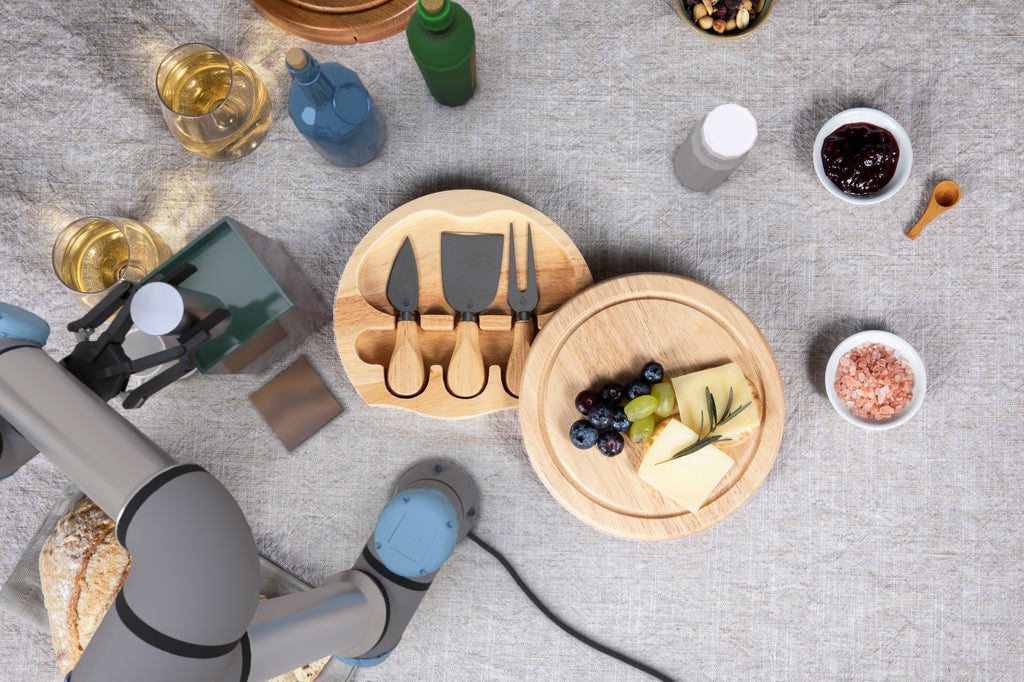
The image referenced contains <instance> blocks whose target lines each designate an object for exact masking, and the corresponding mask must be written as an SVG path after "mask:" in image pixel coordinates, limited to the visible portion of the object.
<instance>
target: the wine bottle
mask: <svg viewBox="0 0 1024 682" xmlns="http://www.w3.org/2000/svg"><path fill="white" fill-rule="evenodd" d="M284 58H285V59H284V61H285V67H286V69H287V71H288V72H289V76H290V77H291V79H292V80H293V81H292V83H291V85H290V87H289V89H288V90H287V113H288V115H289V117H290V119H291V121H292V123H293V124H294V125H295V127H296V129H297V130H298V132H299V134H300V135H301V136H302V137H303V138H304V139H305V140H306V141H307V142H308V143H309V144H310V145H311V147H312V148H313V149H314V150H315V151H316V152H317V153H318V154H319V155H320V156H321V157H322V158H323V159H325V160H326V161H327V162H328V161H329V162H330V163H332V164H333V165H335V166H337V167H339V168H358V167H359V168H360V167H361V166H363V165H365V164H366V163H368V162H369V161H372V160H373V159H374V158H376V157H377V155H378V154H379V152H380V150H381V148H382V146H383V145H384V143H385V141H386V122H385V119H384V117H383V116H382V113H381V112H380V110H379V108H378V107H377V104H376V103H375V101H374V99H373V97H372V95H371V94H370V92H369V90H368V88H367V87H366V84H364V82H363V80H362V79H361V77H360V75H359V74H358V73H357V71H355V70H353V69H352V68H349V67H347V66H346V65H344V64H341V63H339V62H338V61H330V62H327V61H325V62H323V61H322V62H319V61H318V60H317V59H316V58H315V57H314V56H313V55H312V54H311V53H310V52H309V51H307V50H306V49H304V48H302V47H290V48H289V49H288V50H287V51H286V52H285V57H284Z"/></svg>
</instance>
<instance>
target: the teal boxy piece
mask: <svg viewBox="0 0 1024 682" xmlns="http://www.w3.org/2000/svg"><path fill="white" fill-rule="evenodd" d="M184 262H186V263H189V264H192V265H195V266H196V267H197V269H198V271H197V272H195V273H194V274H193V275H191V276H190V277H189V278H187V279H186V280H185V281H183V282H182V283H181V284H179V285H178V286H180V287H184V288H188V289H192V290H196V291H200V292H204V293H208V294H212V295H214V296H216V297H218V298H219V299H220V300H221V301H222V302H223V303H224V305H225V307H226V310H228V311H229V312H230V314H231V315H230V316H228V317H227V323H226V326H225V328H224V330H223V331H222V332H221V333H220V334H219V335H218V336H217V337H215V338H213V339H210V340H208V341H207V342H206V343H204V344H203V345H202V346H200V347H199V348H198V349H196V353H195V355H193V358H194V361H196V363H197V367H196V368H197V370H198V372H199V373H200V374H201V376H207V375H208V376H209V375H210V376H211V375H212V376H213V375H214V376H216V375H217V376H219V375H220V376H221V375H223V376H224V375H226V376H227V375H232V376H233V375H259V374H260V373H262V372H264V370H265V369H267V368H268V367H269V366H271V365H272V364H273V363H275V362H276V361H278V360H279V359H280V358H282V357H283V356H285V354H287V353H289V351H291V350H292V349H293V348H294V347H296V346H297V345H298V344H300V343H301V342H303V341H304V340H305V339H306V338H308V337H310V336H311V334H313V333H314V332H315V331H317V330H319V329H320V328H321V327H322V326H323V325H325V324H327V323H328V322H329V321H330V320H332V319H333V318H334V315H333V314H332V313H331V311H330V310H329V308H328V307H327V305H326V304H325V303H324V302H323V300H322V299H321V297H320V296H319V295H318V294H317V292H316V291H315V290H314V288H313V287H312V286H311V285H310V283H309V281H307V279H306V278H305V276H304V275H303V273H301V271H300V270H299V268H298V267H297V266H296V264H295V263H294V262H293V260H291V258H290V257H289V255H288V254H287V252H286V251H285V250H284V249H283V247H282V246H281V244H280V243H279V241H276V240H274V239H273V238H270V237H268V236H266V235H264V234H263V233H261V232H259V231H257V230H256V229H254V228H251V227H249V226H248V225H245V224H244V223H242V222H240V221H238V220H237V219H234V218H233V217H231V216H229V215H224V216H223V217H222V218H220V219H219V220H218V221H216V222H215V223H214V224H213V225H211V226H210V227H209V228H207V229H206V230H204V231H203V232H202V233H200V234H199V235H197V236H196V237H195V238H194V239H192V240H191V241H190V242H189V243H187V244H186V245H185V246H184V247H182V248H180V250H178V251H177V252H176V253H174V254H173V255H171V256H170V257H169V258H168V259H166V260H165V261H163V262H162V263H161V264H160V265H157V267H156V268H154V269H153V270H152V271H150V272H149V273H148V274H146V275H145V276H143V277H142V278H141V279H140V280H138V281H137V282H136V283H139V284H140V285H141V286H142V285H144V284H145V283H146V282H148V281H149V280H150V279H152V278H153V277H154V276H156V275H157V274H160V273H164V274H169V273H171V272H172V271H173V270H175V269H176V268H177V267H179V266H180V265H181V264H183V263H184ZM175 339H176V340H177V338H175ZM177 342H178V343H179V341H178V340H177ZM179 345H181V344H180V343H179Z"/></svg>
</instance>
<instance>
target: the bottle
mask: <svg viewBox="0 0 1024 682" xmlns="http://www.w3.org/2000/svg"><path fill="white" fill-rule="evenodd" d="M405 29H406V30H405V34H406V35H405V36H406V39H407V43H408V48H409V50H410V53H411V55H412V57H413V60H414V61H415V63H416V65H417V67H418V69H419V72H420V73H421V75H422V78H423V80H424V82H425V84H426V86H427V88H428V90H429V92H430V94H431V96H432V97H433V98H434V99H435V101H437V102H438V103H439V104H440V105H441V106H444V107H445V106H446V107H448V108H456V107H459V106H465V104H467V103H468V102H469V101H470V100H471V99H472V98H473V97H474V95H475V91H476V89H477V85H478V84H477V51H476V47H477V46H476V32H475V27H474V22H473V19H472V15H470V13H468V11H467V10H466V9H465V8H464V7H463V6H462V5H461V4H460V3H458V2H455V1H451V0H417V2H416V10H414V11H413V13H411V14H410V17H409V19H408V23H407V26H406V28H405Z"/></svg>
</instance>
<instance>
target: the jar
mask: <svg viewBox="0 0 1024 682" xmlns="http://www.w3.org/2000/svg"><path fill="white" fill-rule="evenodd" d="M758 135H759V132H758V123H757V119H756V117H755V116H754V115H753V114H752V112H751V111H750V110H749V109H748V108H747V107H745V106H742V105H740V104H738V103H735V102H734V103H724V104H719V105H718V106H716V107H715V108H713V109H712V110H711V111H710V112H708V113H707V114H706V115H704V116H703V117H702V118H701V119H699V120H698V121H696V123H695V124H694V126H693V127H692V129H691V130H690V131H689V133H688V135H687V136H686V138H685V139H684V140H683V142H682V143H681V144H680V146H679V148H678V150H677V152H676V155H675V157H674V159H673V163H674V171H675V172H674V174H675V176H676V177H677V178H678V179H679V181H680V182H681V183H682V185H683V186H684V187H686V188H689V189H690V190H691V189H692V190H694V191H696V192H703V191H712V190H713V189H714V188H716V187H717V186H718V185H720V184H721V183H723V182H724V181H725V180H726V179H727V178H728V177H729V176H730V175H731V174H732V173H734V172H735V171H736V170H737V169H738V168H739V167H740V166H741V165H742V164H743V163H744V162H745V161H746V160H747V158H748V155H749V153H750V151H751V149H752V148H753V147H754V144H755V142H756V140H757V138H758Z"/></svg>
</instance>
